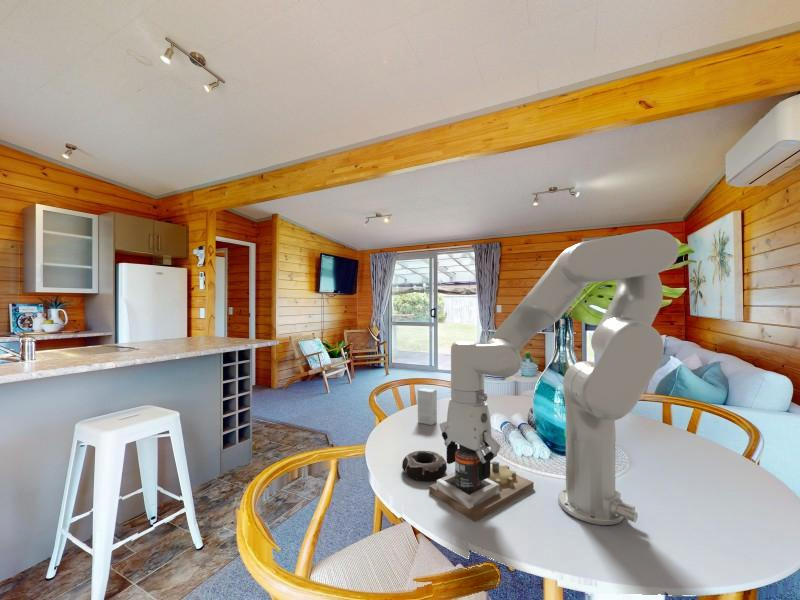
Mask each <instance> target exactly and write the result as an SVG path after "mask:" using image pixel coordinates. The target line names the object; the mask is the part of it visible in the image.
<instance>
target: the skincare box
mask: <svg viewBox="0 0 800 600" xmlns="http://www.w3.org/2000/svg"><path fill="white" fill-rule="evenodd" d="M437 391H438V390H437V389H432V388H425V387H422V388H419V389H418V390H417V423H419V424H425V425H430V426H433V425H434V424H436V423H437V422H438V418H437V417H438V416H437V415H438V409H437V407H438V406H437V405H438V404H437V403H438V401H437V400H438V399H437V397H438V396H437V394H438V393H437Z"/></svg>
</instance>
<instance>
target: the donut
mask: <svg viewBox="0 0 800 600" xmlns="http://www.w3.org/2000/svg"><path fill="white" fill-rule="evenodd" d="M401 463H402V464H401V465H402V466H401V468H402V470H403V472H404V474H405V475H406V476H407V477H409V478H411V479H413V480H416V481H420V482H431V481H435V480H436V481H437V480H438V479H441V478H443V477H444V475H445V474H446V472H447V460H446V459H445V458H444V457H443V456H442V455H441V454H439V453H437V452H435V451H430V450H416V451H413V452H410V453H408V454H407V455H405V457H404V458H403V460H402V462H401Z"/></svg>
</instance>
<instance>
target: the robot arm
mask: <svg viewBox="0 0 800 600" xmlns="http://www.w3.org/2000/svg"><path fill="white" fill-rule="evenodd" d="M679 255H680V246H679V242H678V241H677V239H676V238H675V237H674V236H673V235H672V234H671V233H670V232H667V231H665V230H661V229H657V228H656V229H652V228H651V229H645V230H644V229H643V230H639V231H634V232H629V233H624V234H619V235H613V236H609V237H608V236H607V237H602V238H597V239H592V240H591V239H590V240H586V241H585V240H584V241H582V242H579V243H576V244H574V245H572V246H570V247H567V248H566V249H564V250H563V251H562V252H561V253H560V254H559V255H558V256H557V258H555V260H554V261H553V262H552V264H551V265H550V266H549V267H548V269H547V270H546V271H545V273H544V274H542V276H541V278H539V280H538V281H537V283H535V285H534V286H533V288H532V289H531V290H530V291H529V292H528V293H527V295H526V296H524V298H523V299H522V300H521V301H520V303H518V305H517V306H516V307H515V309H513V311H512V312H511V313H510V314H509V315H508V316H507V317H506V318H505V319H504V321H503V322H502V323H501V324H500V326H498V328H497V329H496V330H495V332H494V333H493V334H492V335H491V337H490V338H489V339H488V341H487V342H486V344H482V342H479V341H476V340H475V341H474V340H458V341H455V342H453V343H452V344H451V348H450V398H449V401H448V407H447V414H446V421H444V422H441V423H439V428H440V431H441V437H442V438H443V440H444V442H443V444H444V446H445V447H446V464H448V465H450V464H453V463H455V452H456V450H457V449H459V444H460V445H462V446H464V447H466V448H469V449H471V450H474V451H476V452H477V454H478V456H479V458H480V460H481V461H480V462H479V463H478V478H479V480H481V481H482V480H484V479H487V478H489V477H490V463H491V461H493V459H494V458H496V457H497V456H498V454H499V452H500V449H501V445H500V444H499V442H498V441H497V440H496V439H495V438H494V437H493V436H492V424H491V415H490V410H489V406H488V403H487V402H486V401H488V395H486V394H485V375H486V376H487V375H488V376H493V377H498V378H509V377H512V376H515V375H516V374H517V373H518V372H519V371H520V369H521V367H522V363H523V362H522V361H523V359H522V355H521V353H520V352H521V350H522V349H523V348H524V347H525V346H526V345H527V343H528V342H529V341H531V340H532V338H533V337H534V336H536V335H537V334H538V333H539V332H541V331H543V330H545V329H546V328H549V327H551V326H552V325H554V324H556V322H558V321H559V320H560V319H561V318H562V317H563V316H564V314H565V313H566V311H568V310H569V308H570V307H571V306H572V305H573V303H574V302H575V301H576V299H577V298H579V296H580V295H581V294H582V293H583V291H584V290H585V289H586V287H588V286H589V284H594V283H602V282H611V281H616V290H615V294H614V295H613V297H612V300H611V301H610V304H609V306H608V308H607V309H606V311H605V313H604V314H603V316H602V318H601V319H600V321H599V323H598V325H597V326H596V328H595V329H594V332H593V334H592V335H591V339H590V343H591V344H590V345H591V348H592V350H593V352H594V353H595V355H597V357H599V358H598V360H597V362H593V361H588V360H587V361H584V360H583V361H578V362H576V363H574V364H572V365H571V366H570V367H569V368H568V369H567V370H566V371H565V374H564V377H563V380H562V381H563V382H562V390H563V391H562V393H563V398H564V410H565V488H564V489H563V490H561V491H560V492H559V493H558V496H557V497H558V498H557V499H558V504H559V506H560V507H561V509H563V510H564V511H565V512H566V513H567V514H569V515H570V516H572V517H574V518H576V519H578V520H580V521H583V522H586V523H589V524H594V525H598V526H599V525H600V526H611V525H612V526H613V525H617V524H619V523H621V522H622V521H623V520H624V519H625V520H627V521H628V520H629V521H631V522H633V523H637V521H638V516H639V515H638V512H637V511H636V507H635V505H632V504H629V503H626V502H624V501H623V500H622V499H621V492H620V491H618V490H616V434H617V433H616V430H617V429H616V422H615V421H617V420H621V419H623V418H624V417H626V416H627V415H628V414H630V412H632V411H633V409H634V408H635V407H636V405H637V404H638V402H639V401H640V400H641V397H642V396H643V395H644V392H645V391H646V390H647V387H648V386H649V384H650V383H651V380H652V379H653V377H654V375H655V373H657V370H658V369H659V367H660V364H661V363H662V361H663V357H664V351H665V350H664V349H665V345H664V341H663V338H662V336H661V334H660V332H659V331H658V330H657V329H655V328H654V327H653V326H652V325H653V323H654V321H655V319H656V316H657V314H658V313H659V311H660V308H661V306H662V303H663V299H664V298H663V297H664V291H663V290H664V289H663V285H662V281H661V278H660V274H659V273H662V272H664V271H666V270H668V269H670V268H671V266H673V265H674V264H675V263H676V261H677V259H678V258H679ZM652 315H653V316H652ZM489 447H490V448H489Z"/></svg>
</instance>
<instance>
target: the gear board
mask: <svg viewBox="0 0 800 600" xmlns="http://www.w3.org/2000/svg"><path fill="white" fill-rule="evenodd" d="M428 489H429V491H428V492H429V493H430V494H432V495H433V496H434V497H436V498H437V499H439V500H440V501H442V502H444V503H446V504H447V505H448V506H450V507H451V508H452V509H454V510H456V511H458V512H459V513H461V514H462V515H463V516H466V517H467V518H469V519H471V520H472V521H474V522H475V523H476V522H477V521H479V520H481V519H483V518H484V517H486V516H488V515H490V514H492V513H493V512H495V511H497V510H498V509H500V508H503V506H505V505H507V504H509V503H510V502H512V501H514V500H515V499H518V498H520V497H522V495H524V494H525V495H526V493H528V492H530V491H531V490H533V489H534V481H533V480H532V481H531V480H530V479H528V478H525V477H523V476H521V475H519V474H517V472H516V471H512V470H511V469H510V465H509V466H508V465H506V464H505V465H502V464H500V463H499V462H497V461H493V462H491V461H490V477H489V478H487V479H484V480H482V489H480V490H478V491H476V492H474V493H472V494H470V495H468V494H466V493H465V492H463V491H461V490H459V489H458V488H456V486H455V472H453V473H450V474H448V475H446V476H442V477H440V478H438V479H436V482H435V483H433V484H431V485H429V486H428Z"/></svg>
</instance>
